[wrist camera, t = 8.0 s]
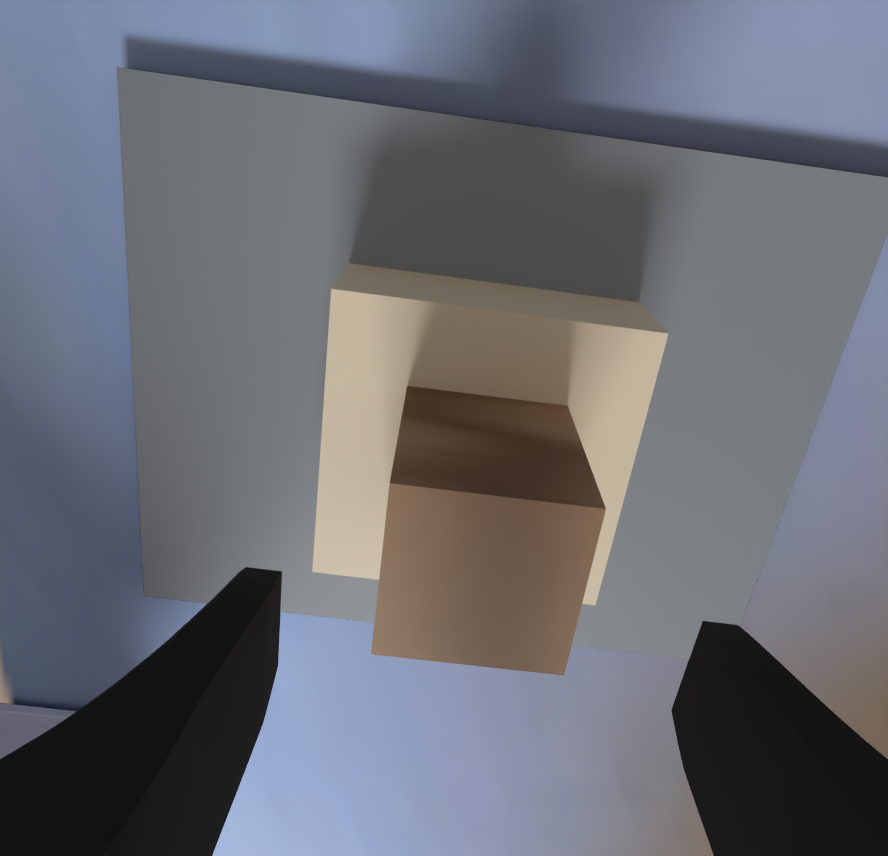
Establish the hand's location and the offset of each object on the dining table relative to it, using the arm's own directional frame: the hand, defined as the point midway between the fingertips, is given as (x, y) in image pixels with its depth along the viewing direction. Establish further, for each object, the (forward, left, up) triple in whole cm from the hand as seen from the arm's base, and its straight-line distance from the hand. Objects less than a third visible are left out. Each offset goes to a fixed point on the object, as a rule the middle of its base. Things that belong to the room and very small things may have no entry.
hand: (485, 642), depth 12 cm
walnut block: (0, 0, -7) cm, 7 cm away
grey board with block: (0, 0, -10) cm, 10 cm away
